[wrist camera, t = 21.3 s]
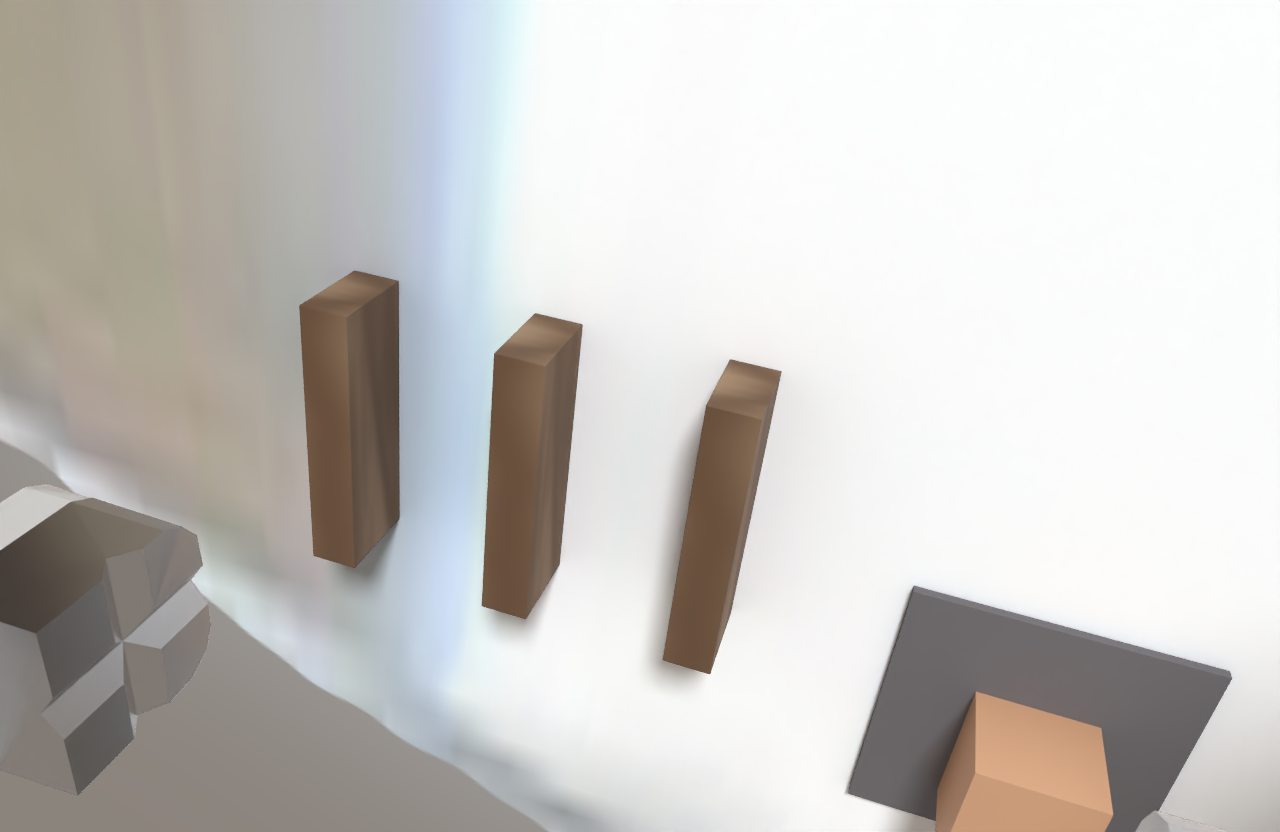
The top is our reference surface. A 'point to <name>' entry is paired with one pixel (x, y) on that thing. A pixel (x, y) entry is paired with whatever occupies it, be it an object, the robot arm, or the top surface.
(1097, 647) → the charcoal mat
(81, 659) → the robot arm
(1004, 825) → the terracotta block
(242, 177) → the top surface
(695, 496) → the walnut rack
